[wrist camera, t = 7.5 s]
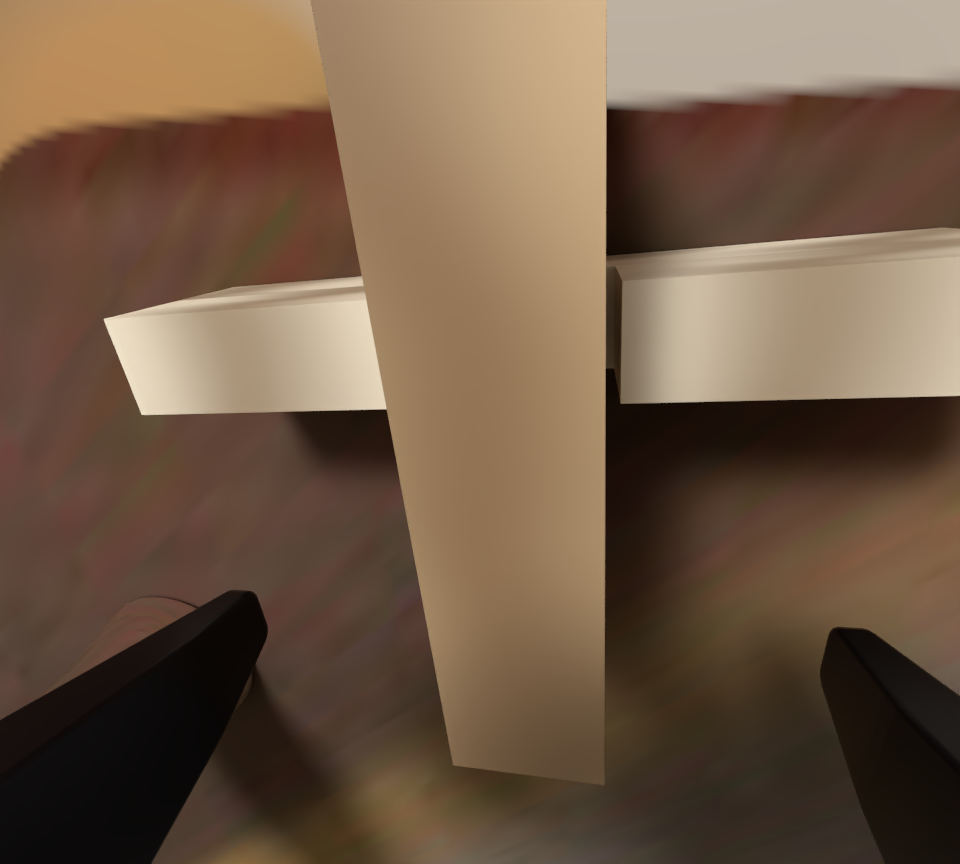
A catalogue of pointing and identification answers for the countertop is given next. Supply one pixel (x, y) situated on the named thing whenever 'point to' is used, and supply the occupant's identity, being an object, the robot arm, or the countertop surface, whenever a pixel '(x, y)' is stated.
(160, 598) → the beer glass
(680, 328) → the birch rail
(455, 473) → the tan block
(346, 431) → the countertop surface
